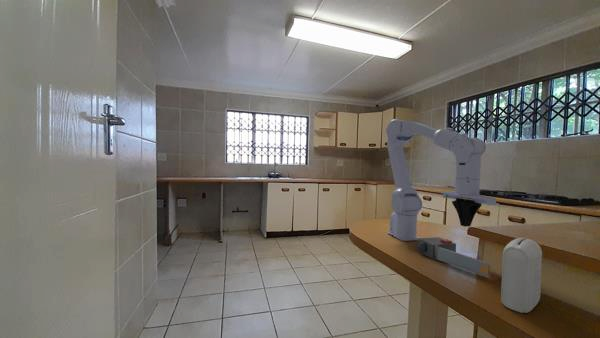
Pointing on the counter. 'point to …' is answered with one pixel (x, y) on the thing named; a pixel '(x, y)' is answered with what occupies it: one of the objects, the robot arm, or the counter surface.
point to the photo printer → (521, 275)
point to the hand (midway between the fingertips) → (465, 225)
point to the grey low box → (428, 245)
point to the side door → (462, 261)
